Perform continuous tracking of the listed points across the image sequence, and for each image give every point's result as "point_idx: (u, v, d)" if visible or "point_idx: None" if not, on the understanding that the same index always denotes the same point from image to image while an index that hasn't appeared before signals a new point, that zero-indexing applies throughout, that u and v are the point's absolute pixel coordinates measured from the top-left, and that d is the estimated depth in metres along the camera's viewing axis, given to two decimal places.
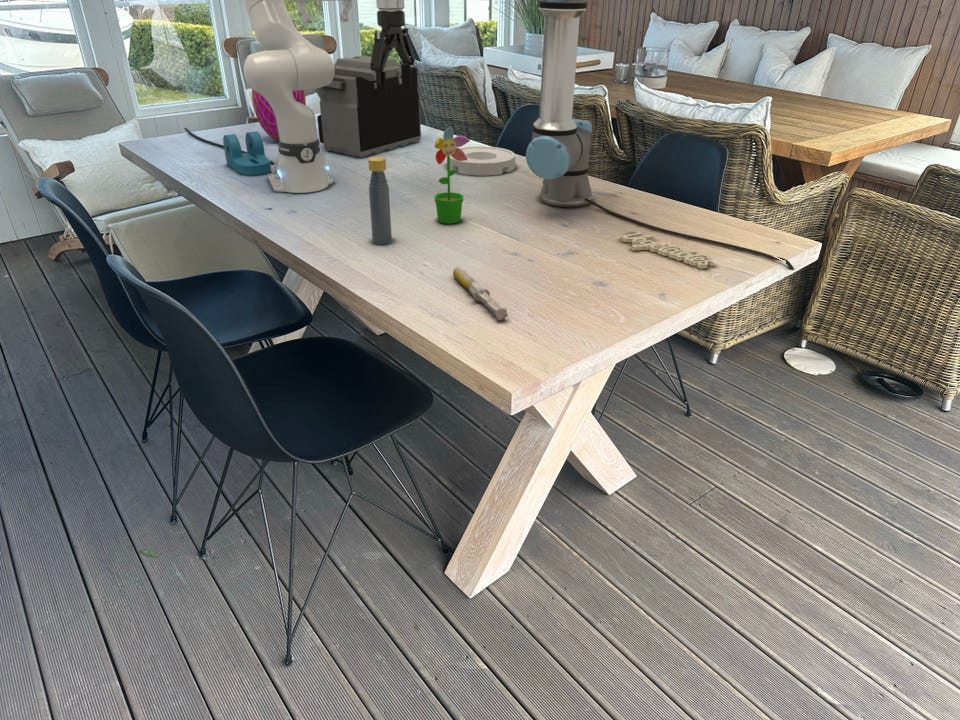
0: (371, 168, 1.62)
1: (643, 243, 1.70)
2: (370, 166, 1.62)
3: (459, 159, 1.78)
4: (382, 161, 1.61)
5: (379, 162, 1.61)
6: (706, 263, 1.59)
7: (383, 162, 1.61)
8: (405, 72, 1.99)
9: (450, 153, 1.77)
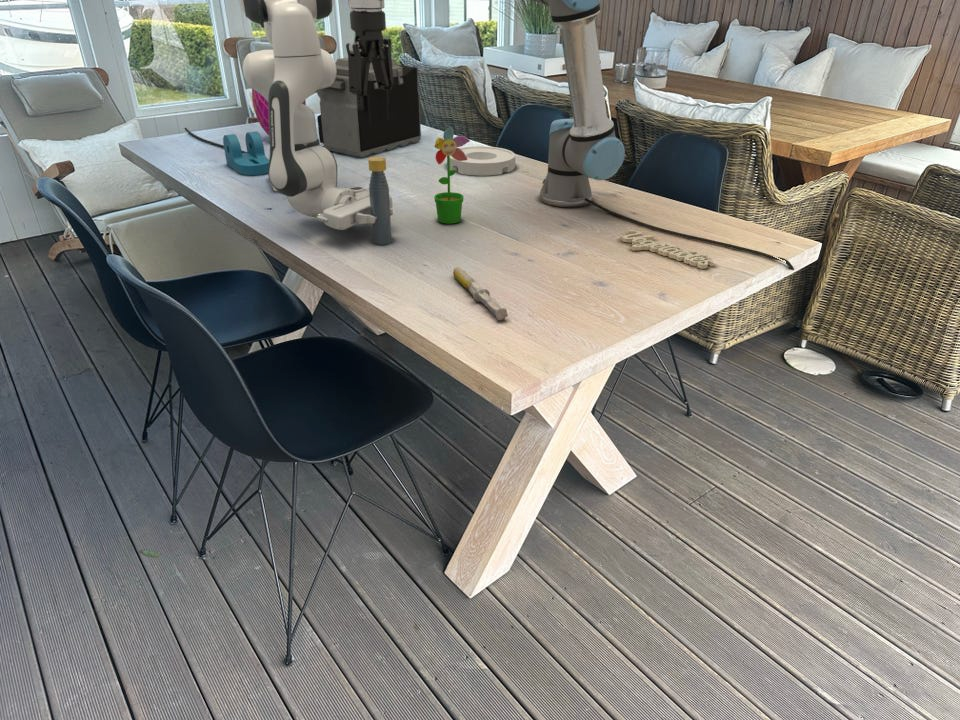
0: (371, 168, 1.62)
1: (643, 243, 1.70)
2: (370, 166, 1.62)
3: (459, 159, 1.78)
4: (382, 161, 1.61)
5: (379, 162, 1.61)
6: (706, 263, 1.59)
7: (383, 162, 1.61)
8: None
9: (450, 153, 1.77)
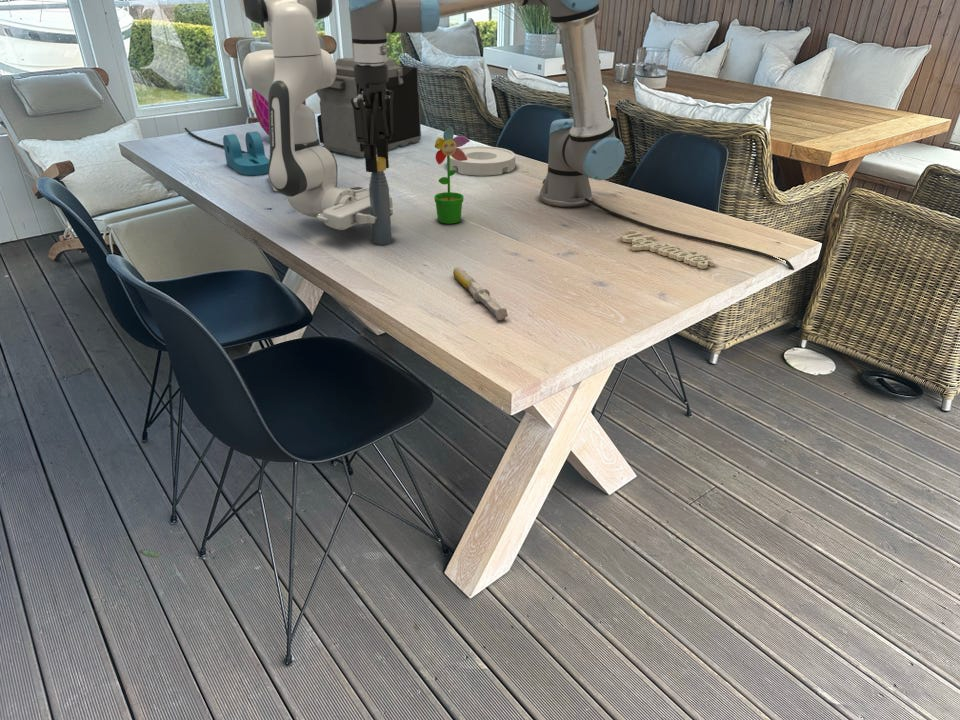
0: None
1: (643, 243, 1.70)
2: None
3: (459, 159, 1.78)
4: (382, 161, 1.61)
5: (379, 162, 1.61)
6: (706, 263, 1.59)
7: (383, 162, 1.61)
8: None
9: (450, 153, 1.77)
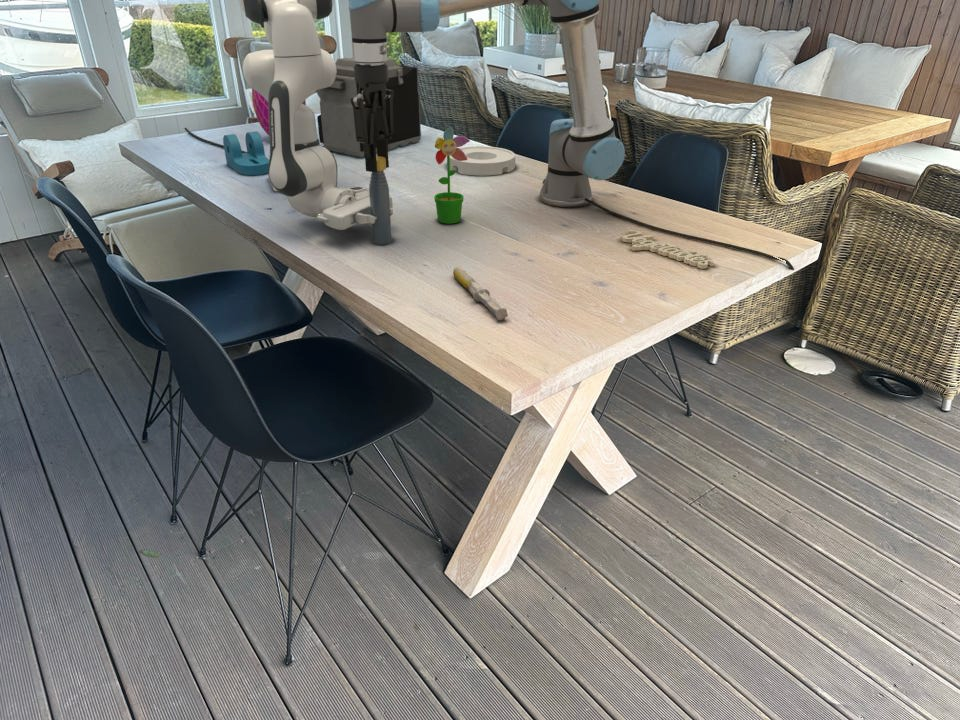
0: (385, 166, 1.62)
1: (643, 243, 1.70)
2: (384, 165, 1.62)
3: (459, 159, 1.78)
4: None
5: None
6: (706, 263, 1.59)
7: None
8: None
9: (450, 153, 1.77)
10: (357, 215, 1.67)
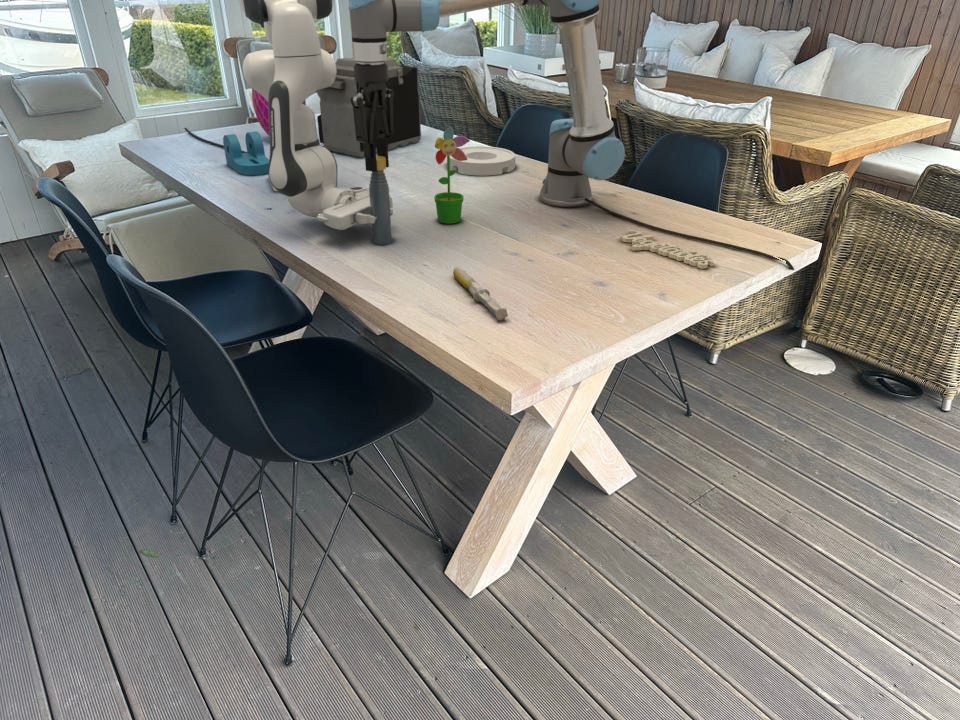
0: None
1: (643, 243, 1.70)
2: None
3: (459, 159, 1.78)
4: None
5: None
6: (706, 263, 1.59)
7: None
8: None
9: (450, 153, 1.77)
10: (357, 215, 1.67)
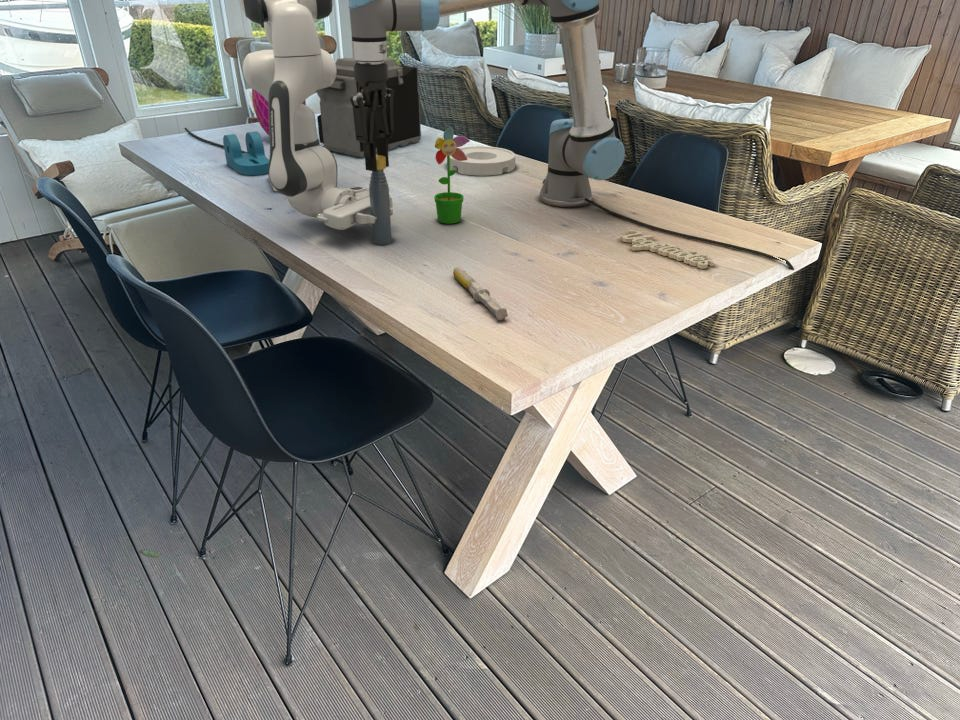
0: None
1: (643, 243, 1.70)
2: None
3: (459, 159, 1.78)
4: (377, 160, 1.60)
5: None
6: (706, 263, 1.59)
7: (379, 161, 1.61)
8: None
9: (450, 153, 1.77)
10: (357, 215, 1.67)
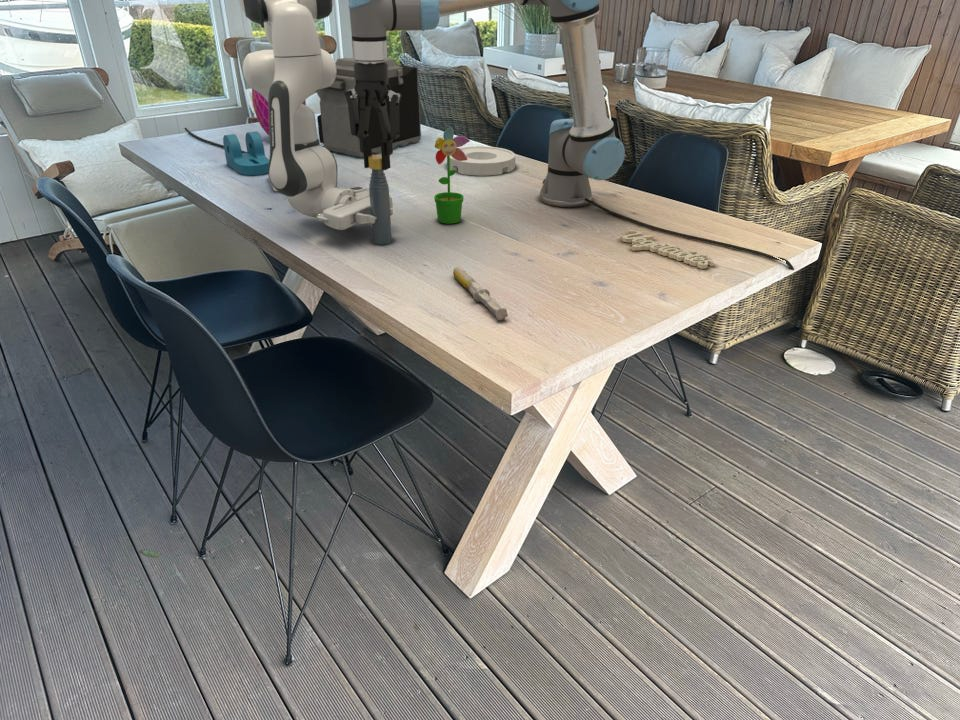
0: (380, 166, 1.61)
1: (643, 243, 1.70)
2: (379, 165, 1.61)
3: (459, 159, 1.78)
4: None
5: None
6: (706, 263, 1.59)
7: None
8: None
9: (450, 153, 1.77)
10: (357, 215, 1.67)
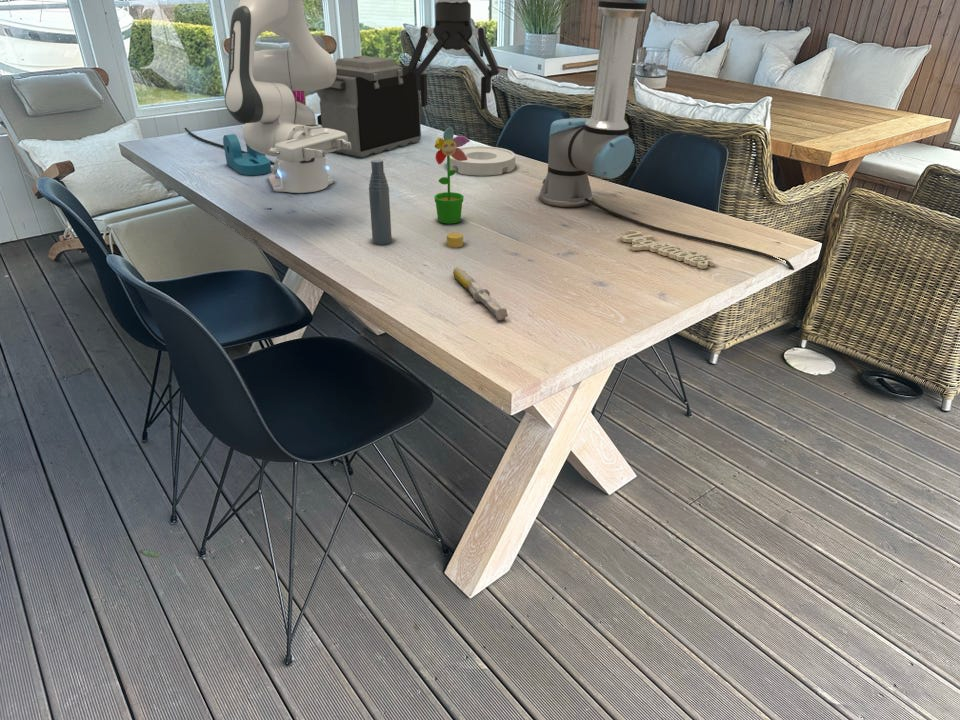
0: (459, 244, 1.70)
1: (643, 243, 1.70)
2: (458, 243, 1.69)
3: (459, 159, 1.78)
4: None
5: None
6: (706, 263, 1.59)
7: None
8: None
9: (450, 153, 1.77)
10: (304, 150, 1.64)
